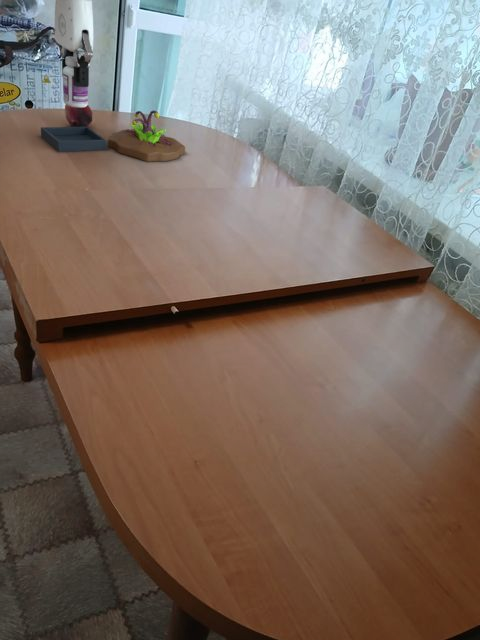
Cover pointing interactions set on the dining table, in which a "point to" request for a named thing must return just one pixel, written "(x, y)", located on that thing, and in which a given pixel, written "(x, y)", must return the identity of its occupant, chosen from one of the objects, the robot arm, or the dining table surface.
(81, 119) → the fruit
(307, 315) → the dining table surface
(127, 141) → the plant
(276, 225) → the dining table surface
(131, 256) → the dining table surface
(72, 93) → the pill bottle
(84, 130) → the tray
